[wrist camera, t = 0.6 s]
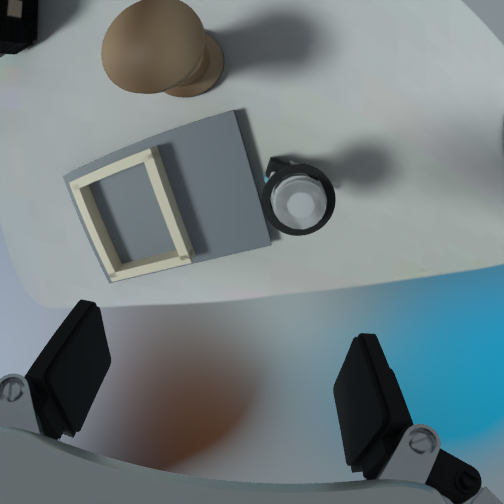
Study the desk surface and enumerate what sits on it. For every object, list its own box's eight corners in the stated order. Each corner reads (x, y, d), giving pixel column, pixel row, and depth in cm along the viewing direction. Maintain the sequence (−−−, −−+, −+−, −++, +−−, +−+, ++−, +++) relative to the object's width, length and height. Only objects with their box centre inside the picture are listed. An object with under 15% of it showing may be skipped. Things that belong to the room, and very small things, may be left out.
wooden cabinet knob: (213, 22, 24) (187, -18, 14) (232, 84, 26) (215, 71, 17) (146, 46, 25) (92, 24, 15) (164, 107, 27) (115, 109, 18)
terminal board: (234, 110, 28) (231, 110, 25) (271, 240, 33) (271, 253, 30) (68, 173, 30) (53, 180, 28) (113, 278, 36) (102, 292, 33)
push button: (335, 163, 29) (366, 188, 20) (317, 211, 32) (338, 254, 23) (271, 141, 29) (275, 157, 20) (255, 192, 31) (252, 228, 22)
